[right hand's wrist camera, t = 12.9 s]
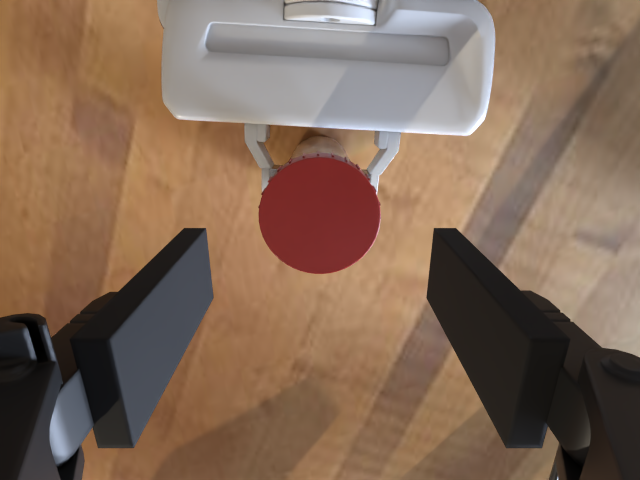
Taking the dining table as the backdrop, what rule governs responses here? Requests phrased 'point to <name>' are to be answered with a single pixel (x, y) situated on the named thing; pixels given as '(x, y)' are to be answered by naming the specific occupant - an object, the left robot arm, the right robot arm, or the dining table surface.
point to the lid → (319, 213)
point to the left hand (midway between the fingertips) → (319, 194)
